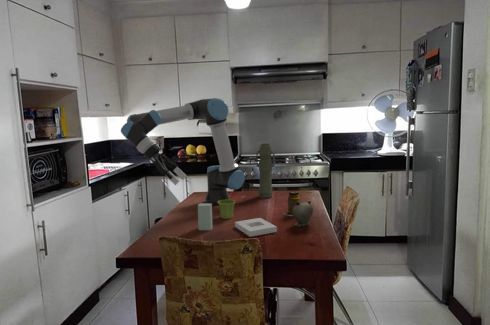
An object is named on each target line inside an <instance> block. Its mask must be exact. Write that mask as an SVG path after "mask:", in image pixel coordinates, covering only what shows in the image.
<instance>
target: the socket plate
mask: <svg viewBox="0 0 490 325" xmlns="http://www.w3.org/2000/svg"><path fill="white" fill-rule="evenodd" d="M234 226H235V228H236V229H237V230H239V231H241V232H243V234H245V235H247V236H248V237H251V238H252V237H256V236H261V235H267V234H271V233H277V232H278V227H277V225H274V224H272V223H271V222H269V221H268V220H265V219H263V218H261V217H258V218H251V219H245V220H239V221H235V222H234Z"/></svg>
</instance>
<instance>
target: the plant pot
mask: <svg viewBox="0 0 490 325" xmlns="http://www.w3.org/2000/svg"><path fill="white" fill-rule="evenodd" d="M218 203H219V205H218V207H219V213H220V218H221V219H225V220H228V219H232V218H233V216H234V208H235V203H236V200H232V199H229V200H220V201H218Z"/></svg>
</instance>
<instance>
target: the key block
mask: <svg viewBox="0 0 490 325" xmlns="http://www.w3.org/2000/svg"><path fill="white" fill-rule="evenodd" d="M212 206H213V205H212V204H206V203H204V202H201V203H198V204H197V223H198V227H197V228H198V229H197V230H198V231H212V229H213V207H212Z"/></svg>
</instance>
